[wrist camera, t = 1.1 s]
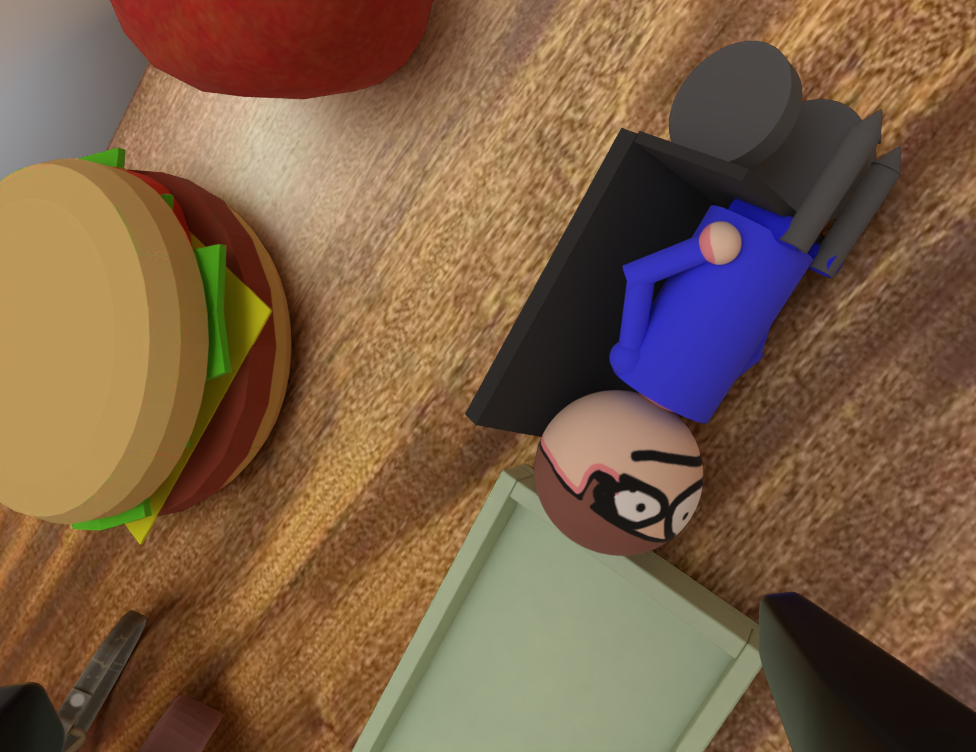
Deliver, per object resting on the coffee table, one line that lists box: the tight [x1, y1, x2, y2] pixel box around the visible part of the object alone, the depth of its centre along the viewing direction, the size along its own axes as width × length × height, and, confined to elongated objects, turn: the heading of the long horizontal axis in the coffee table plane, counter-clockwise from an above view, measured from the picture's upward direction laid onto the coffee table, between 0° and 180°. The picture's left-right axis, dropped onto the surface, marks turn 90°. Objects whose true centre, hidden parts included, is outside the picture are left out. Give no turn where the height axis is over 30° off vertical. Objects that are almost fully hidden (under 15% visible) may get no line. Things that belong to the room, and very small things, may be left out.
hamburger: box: [0, 148, 292, 544], centre depth 32 cm, size 16×16×8 cm
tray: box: [352, 464, 762, 752], centre depth 26 cm, size 10×17×2 cm, turn 150°
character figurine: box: [465, 41, 901, 556], centre depth 21 cm, size 8×7×15 cm
